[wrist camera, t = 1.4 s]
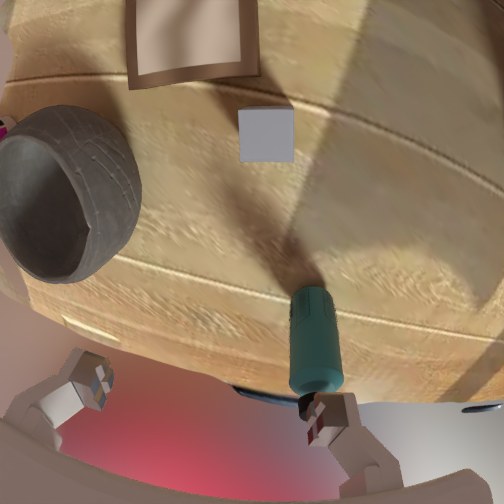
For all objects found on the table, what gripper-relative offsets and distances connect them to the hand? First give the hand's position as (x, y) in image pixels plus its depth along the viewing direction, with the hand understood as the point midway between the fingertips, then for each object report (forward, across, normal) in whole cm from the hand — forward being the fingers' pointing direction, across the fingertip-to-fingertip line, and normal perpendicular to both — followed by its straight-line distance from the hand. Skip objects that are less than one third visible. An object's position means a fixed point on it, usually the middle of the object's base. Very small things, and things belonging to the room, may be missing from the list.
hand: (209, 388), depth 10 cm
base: (+28, +9, -19) cm, 34 cm away
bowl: (+30, +21, +1) cm, 37 cm away
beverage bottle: (+29, -12, +15) cm, 35 cm away
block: (+28, -1, -7) cm, 29 cm away
